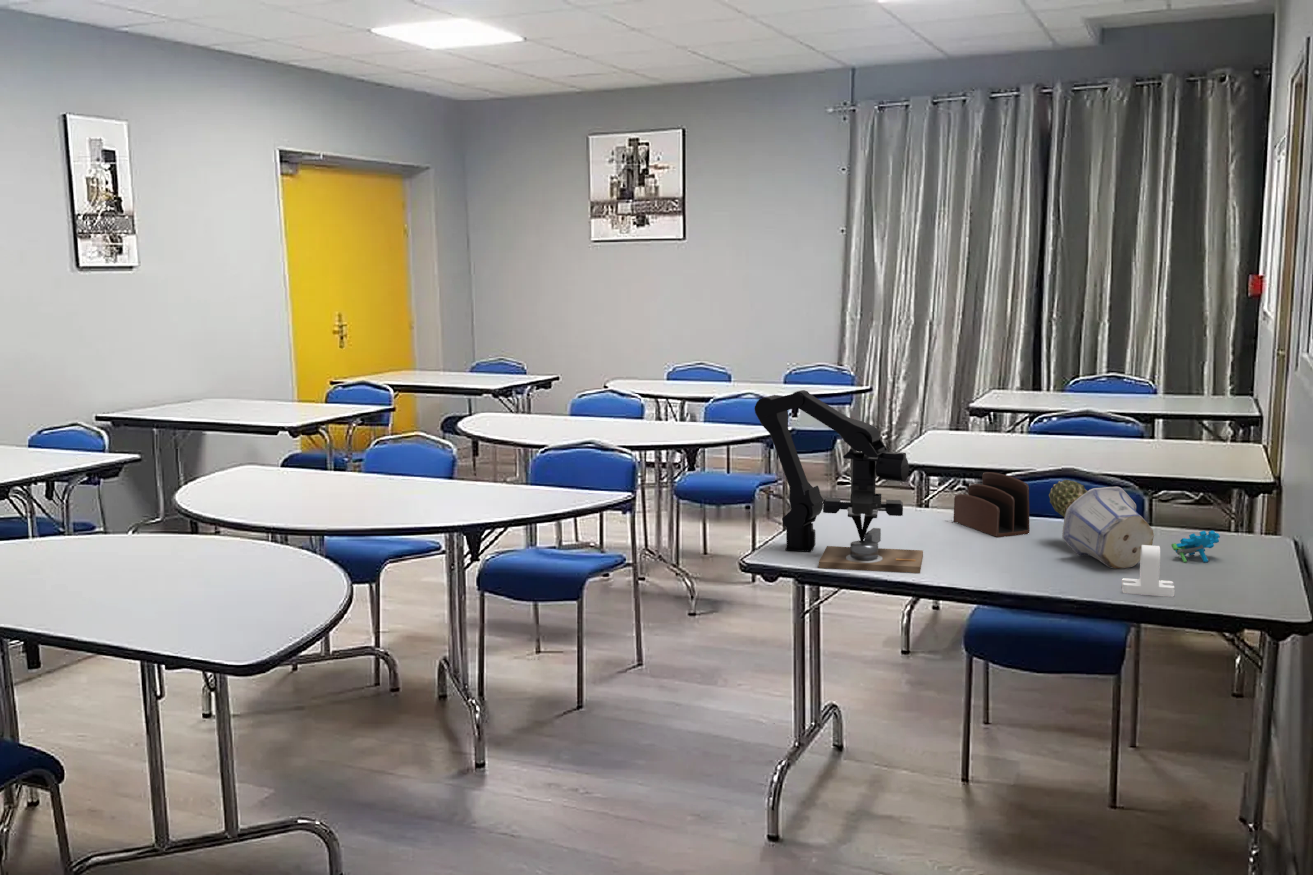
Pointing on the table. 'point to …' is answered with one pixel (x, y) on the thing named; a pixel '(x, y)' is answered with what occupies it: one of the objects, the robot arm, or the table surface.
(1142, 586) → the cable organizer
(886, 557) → the base plate
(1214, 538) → the blue spiky toy dinosaur
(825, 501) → the robot arm
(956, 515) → the letter holder
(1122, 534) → the potted plant
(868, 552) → the grey rotary lever handle
